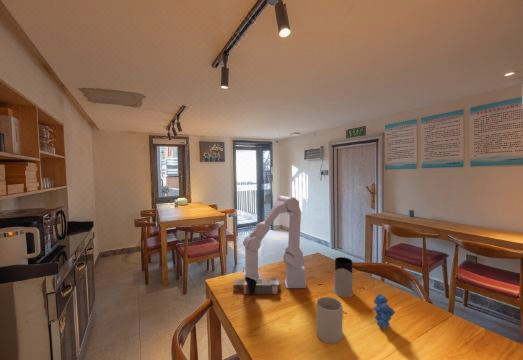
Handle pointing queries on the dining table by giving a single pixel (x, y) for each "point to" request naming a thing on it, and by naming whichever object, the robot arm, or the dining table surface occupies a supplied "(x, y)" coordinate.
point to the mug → (329, 320)
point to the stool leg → (262, 288)
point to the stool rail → (239, 283)
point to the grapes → (382, 311)
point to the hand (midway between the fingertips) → (251, 293)
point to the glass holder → (343, 277)
